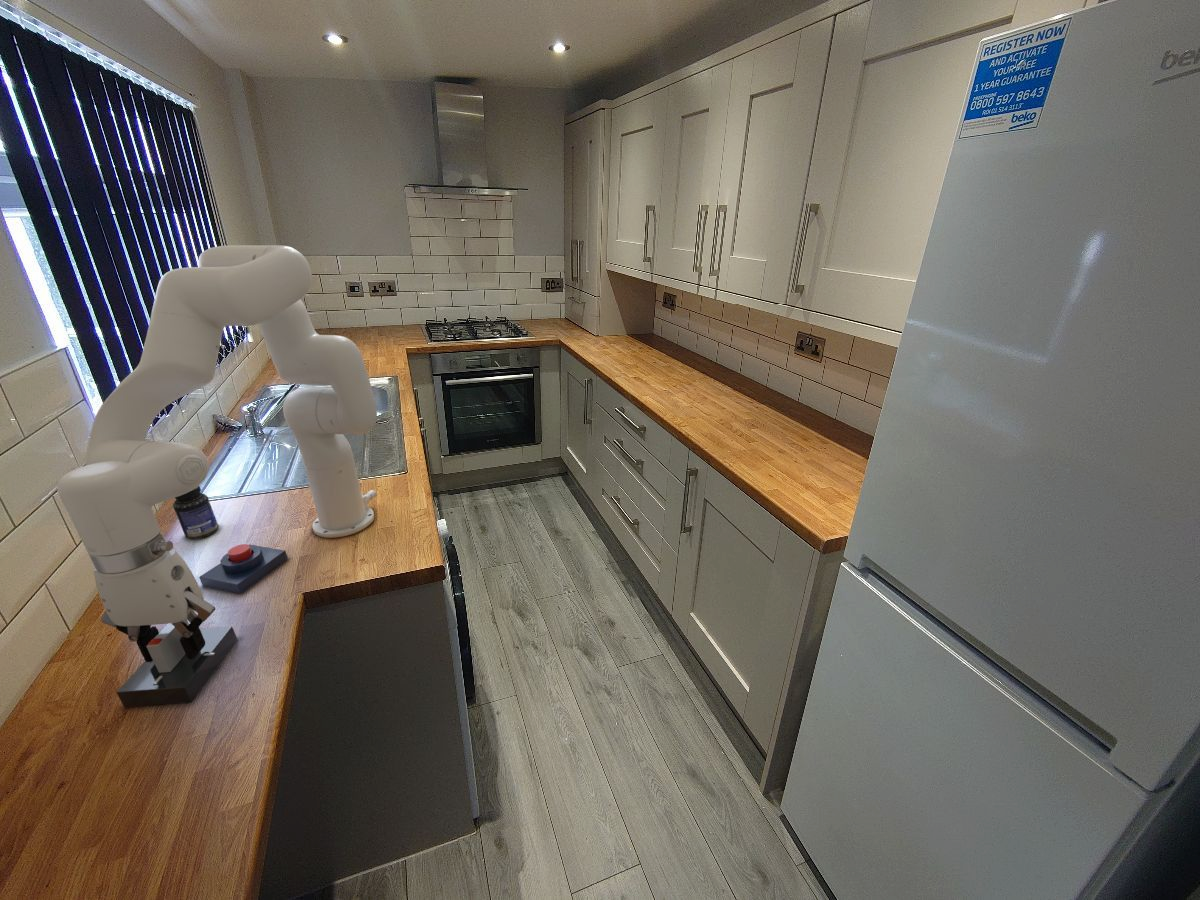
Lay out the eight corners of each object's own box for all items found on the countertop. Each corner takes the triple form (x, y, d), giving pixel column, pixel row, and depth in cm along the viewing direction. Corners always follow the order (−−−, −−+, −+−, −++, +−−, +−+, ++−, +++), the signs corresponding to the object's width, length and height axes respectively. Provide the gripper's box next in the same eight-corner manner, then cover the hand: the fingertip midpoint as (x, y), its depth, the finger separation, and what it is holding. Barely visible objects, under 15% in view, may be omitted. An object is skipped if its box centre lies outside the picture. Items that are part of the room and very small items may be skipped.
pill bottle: (226, 527, 117) (210, 483, 112) (199, 542, 111) (181, 497, 107) (205, 523, 119) (189, 480, 114) (178, 538, 113) (160, 493, 109)
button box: (252, 553, 108) (246, 536, 106) (288, 559, 105) (283, 542, 104) (202, 586, 98) (195, 569, 96) (240, 594, 96) (234, 576, 94)
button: (242, 550, 102) (239, 542, 101) (256, 553, 101) (254, 545, 101) (225, 561, 99) (222, 553, 98) (240, 563, 98) (238, 556, 97)
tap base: (176, 644, 84) (169, 629, 83) (241, 640, 85) (236, 625, 84) (119, 708, 73) (110, 691, 72) (195, 702, 74) (188, 686, 73)
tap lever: (185, 642, 81) (173, 615, 79) (196, 641, 81) (185, 614, 79) (158, 672, 75) (145, 645, 73) (170, 672, 75) (157, 644, 73)
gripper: (213, 532, 74) (250, 631, 82) (85, 539, 73) (134, 639, 81) (178, 564, 68) (222, 669, 75) (37, 572, 66) (95, 678, 74)
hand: (176, 652), depth 78 cm, fingers open, 5 cm apart
